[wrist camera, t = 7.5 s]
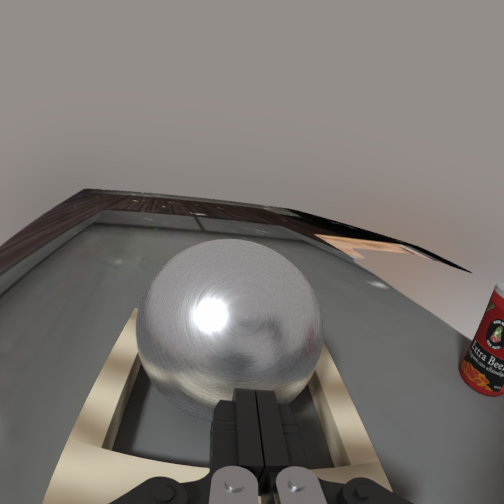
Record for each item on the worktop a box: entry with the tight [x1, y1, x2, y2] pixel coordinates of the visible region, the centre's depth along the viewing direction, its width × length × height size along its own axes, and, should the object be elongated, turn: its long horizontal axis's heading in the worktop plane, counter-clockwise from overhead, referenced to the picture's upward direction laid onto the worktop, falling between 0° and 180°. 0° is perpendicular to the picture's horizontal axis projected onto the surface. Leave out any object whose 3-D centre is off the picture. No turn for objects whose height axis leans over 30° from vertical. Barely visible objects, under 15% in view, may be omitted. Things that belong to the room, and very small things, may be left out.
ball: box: [136, 239, 323, 422], centre depth 19 cm, size 12×12×12 cm
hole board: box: [42, 309, 393, 504], centre depth 16 cm, size 26×18×2 cm
